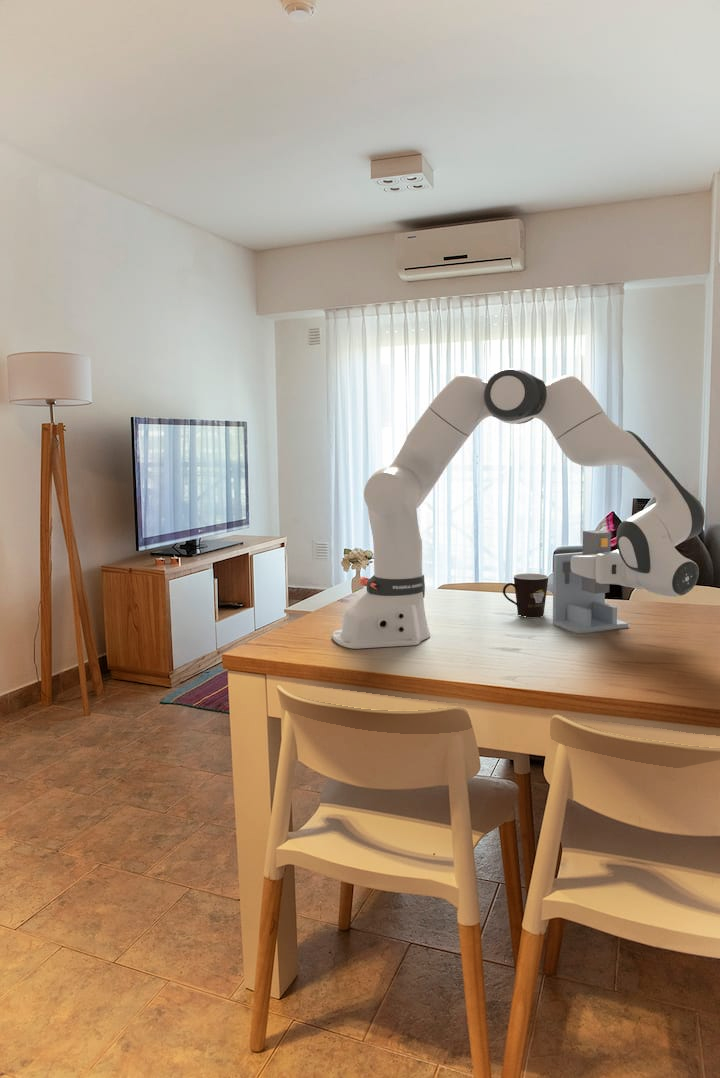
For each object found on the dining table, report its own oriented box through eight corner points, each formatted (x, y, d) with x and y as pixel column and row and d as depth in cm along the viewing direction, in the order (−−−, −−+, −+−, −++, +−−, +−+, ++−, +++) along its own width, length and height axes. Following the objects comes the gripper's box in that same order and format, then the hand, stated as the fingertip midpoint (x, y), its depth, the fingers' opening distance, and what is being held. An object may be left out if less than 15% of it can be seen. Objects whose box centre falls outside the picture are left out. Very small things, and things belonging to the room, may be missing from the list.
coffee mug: (545, 611, 193) (545, 573, 192) (550, 619, 185) (550, 579, 183) (500, 611, 194) (500, 573, 193) (503, 619, 186) (503, 579, 185)
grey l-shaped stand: (577, 633, 170) (578, 560, 168) (552, 624, 180) (553, 554, 177) (628, 627, 175) (629, 555, 173) (601, 618, 184) (602, 550, 182)
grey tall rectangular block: (596, 594, 170) (597, 533, 169) (581, 589, 176) (582, 531, 174) (610, 592, 172) (612, 532, 170) (595, 588, 177) (597, 530, 175)
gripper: (672, 549, 164) (630, 542, 177) (594, 555, 157) (556, 546, 170) (671, 577, 165) (629, 568, 178) (593, 584, 158) (556, 574, 171)
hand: (593, 557), depth 174 cm, fingers closed on grey tall rectangular block, 4 cm apart
